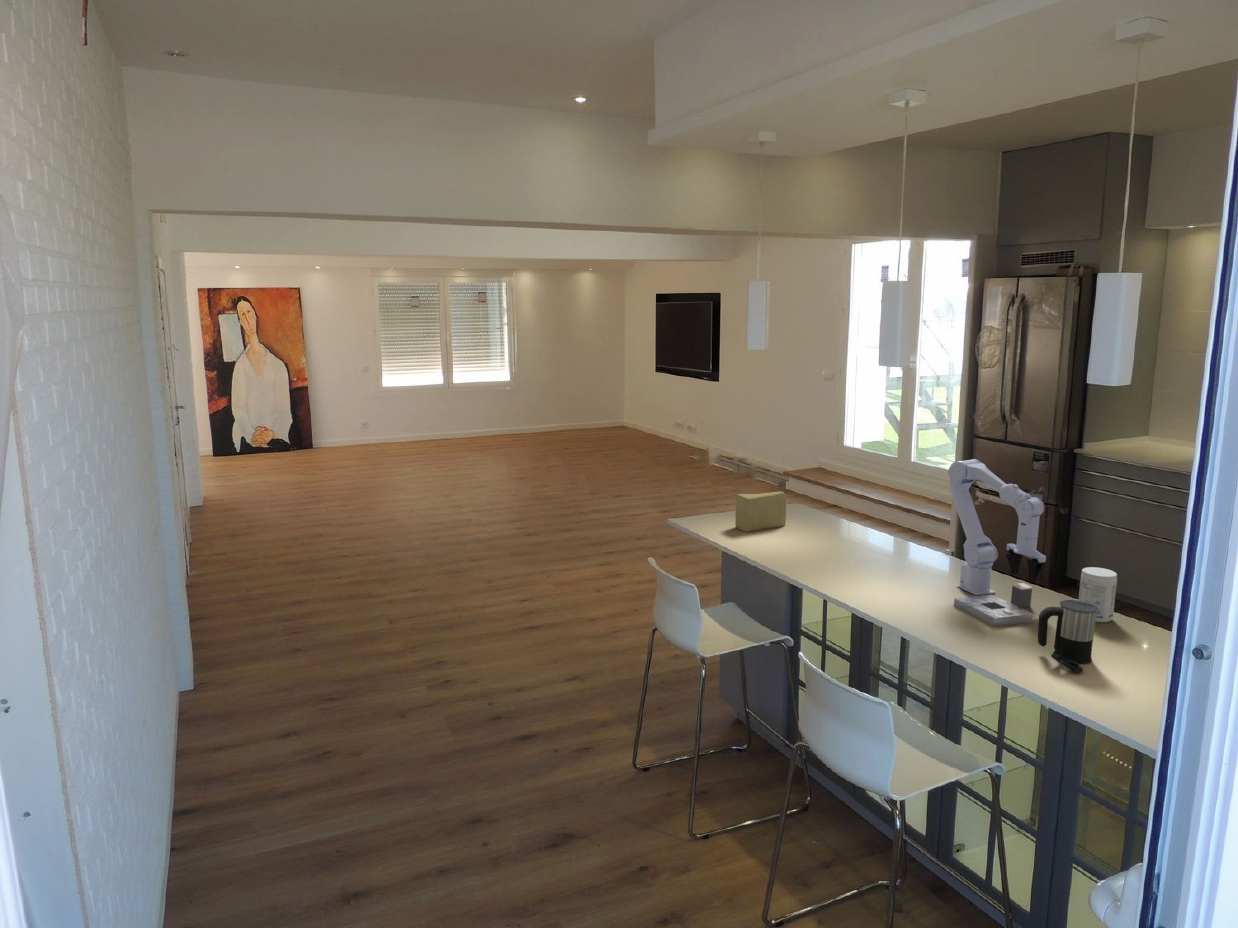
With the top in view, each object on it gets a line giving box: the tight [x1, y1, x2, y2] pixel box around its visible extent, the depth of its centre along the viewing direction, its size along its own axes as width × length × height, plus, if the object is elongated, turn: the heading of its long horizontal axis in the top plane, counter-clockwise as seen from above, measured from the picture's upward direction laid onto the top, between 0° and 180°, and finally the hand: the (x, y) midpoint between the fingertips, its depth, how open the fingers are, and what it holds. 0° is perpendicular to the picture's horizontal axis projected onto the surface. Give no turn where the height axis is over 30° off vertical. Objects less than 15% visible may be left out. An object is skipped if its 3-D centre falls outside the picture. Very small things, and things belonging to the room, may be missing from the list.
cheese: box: [734, 491, 787, 533], centre depth 356 cm, size 22×10×15 cm, turn 112°
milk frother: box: [1037, 599, 1099, 673], centre depth 222 cm, size 14×16×15 cm
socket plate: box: [953, 594, 1034, 627], centre depth 258 cm, size 18×14×3 cm
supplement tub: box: [1078, 566, 1118, 623], centre depth 254 cm, size 10×10×15 cm
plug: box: [1010, 582, 1034, 609], centre depth 265 cm, size 4×4×6 cm
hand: (1023, 577), depth 264 cm, fingers open, 7 cm apart
